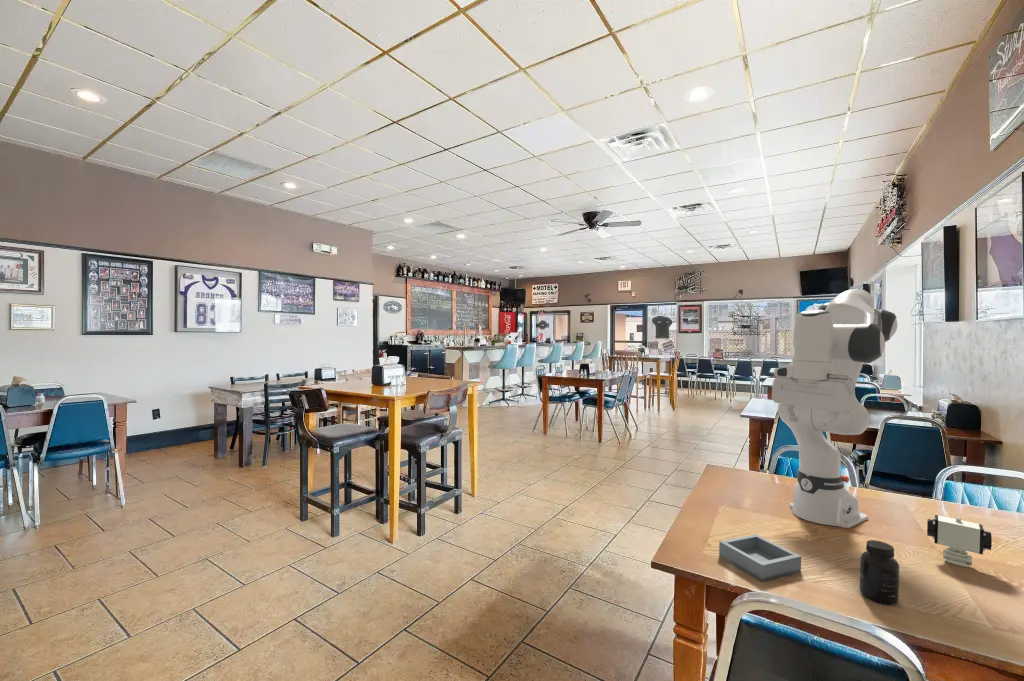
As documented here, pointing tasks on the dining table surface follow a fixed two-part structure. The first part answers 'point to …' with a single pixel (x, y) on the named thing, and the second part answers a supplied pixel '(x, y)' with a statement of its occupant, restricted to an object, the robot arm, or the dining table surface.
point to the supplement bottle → (879, 573)
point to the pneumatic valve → (959, 538)
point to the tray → (760, 557)
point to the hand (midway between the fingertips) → (809, 425)
